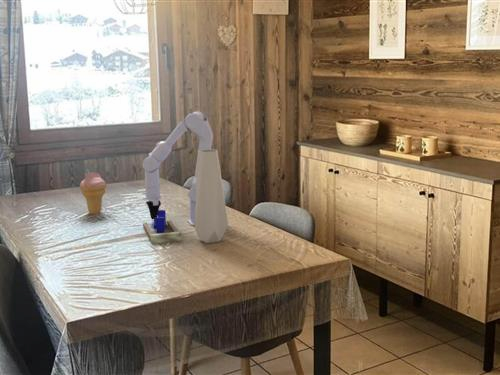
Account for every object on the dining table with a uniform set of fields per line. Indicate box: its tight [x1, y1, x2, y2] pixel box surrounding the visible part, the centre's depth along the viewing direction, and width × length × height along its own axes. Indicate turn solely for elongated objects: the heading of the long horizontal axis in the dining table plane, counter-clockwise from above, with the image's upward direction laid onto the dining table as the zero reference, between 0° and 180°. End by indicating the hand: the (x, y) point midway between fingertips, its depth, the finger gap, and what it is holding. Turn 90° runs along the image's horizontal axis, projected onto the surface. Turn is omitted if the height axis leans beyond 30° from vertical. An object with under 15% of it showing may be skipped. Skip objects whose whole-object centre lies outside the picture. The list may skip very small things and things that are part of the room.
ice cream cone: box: [79, 165, 107, 215], centre depth 259 cm, size 11×11×20 cm
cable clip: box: [153, 209, 167, 234], centre depth 236 cm, size 12×4×6 cm, turn 5°
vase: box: [194, 148, 229, 244], centre depth 218 cm, size 12×12×33 cm
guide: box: [142, 219, 183, 244], centre depth 229 cm, size 11×22×3 cm, turn 17°
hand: (154, 218), depth 247 cm, fingers closed
